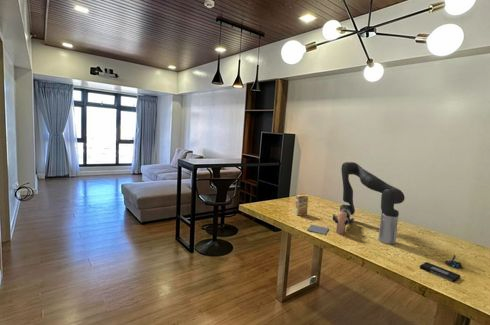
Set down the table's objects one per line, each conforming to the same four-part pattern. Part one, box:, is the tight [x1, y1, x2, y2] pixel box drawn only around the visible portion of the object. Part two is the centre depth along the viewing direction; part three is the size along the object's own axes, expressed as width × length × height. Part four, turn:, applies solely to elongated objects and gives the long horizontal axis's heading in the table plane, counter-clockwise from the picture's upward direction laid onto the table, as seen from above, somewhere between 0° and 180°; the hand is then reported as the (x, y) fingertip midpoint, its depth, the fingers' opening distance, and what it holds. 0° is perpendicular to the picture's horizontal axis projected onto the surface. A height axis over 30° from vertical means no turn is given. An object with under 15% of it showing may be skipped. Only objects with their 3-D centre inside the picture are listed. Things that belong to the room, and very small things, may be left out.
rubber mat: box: [306, 224, 330, 236], centre depth 178 cm, size 12×12×1 cm
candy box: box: [294, 194, 309, 216], centre depth 209 cm, size 9×4×15 cm, turn 107°
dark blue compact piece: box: [444, 254, 463, 270], centre depth 138 cm, size 8×7×8 cm
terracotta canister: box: [335, 210, 347, 236], centre depth 174 cm, size 5×5×14 cm
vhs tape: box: [419, 261, 461, 283], centre depth 129 cm, size 8×14×2 cm, turn 34°
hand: (341, 222), depth 171 cm, fingers closed on terracotta canister, 5 cm apart
